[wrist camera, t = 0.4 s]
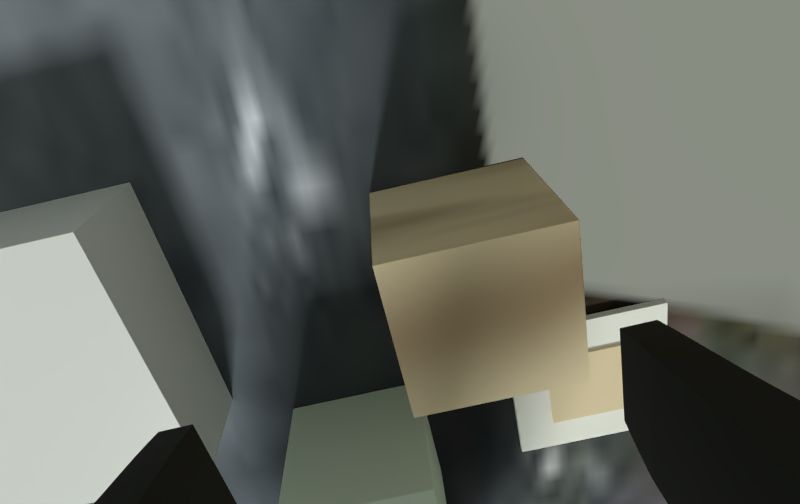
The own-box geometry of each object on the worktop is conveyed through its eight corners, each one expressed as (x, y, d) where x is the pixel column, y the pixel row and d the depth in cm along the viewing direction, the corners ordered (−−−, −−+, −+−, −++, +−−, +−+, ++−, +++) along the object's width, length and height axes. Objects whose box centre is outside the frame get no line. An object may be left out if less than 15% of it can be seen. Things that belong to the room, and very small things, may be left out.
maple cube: (537, 288, 19) (590, 381, 15) (401, 318, 20) (414, 418, 15) (522, 157, 17) (579, 220, 13) (369, 192, 17) (372, 265, 13)
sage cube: (440, 468, 23) (459, 584, 19) (328, 492, 23) (320, 612, 19) (418, 380, 21) (433, 489, 17) (293, 407, 21) (275, 521, 17)
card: (661, 417, 23) (666, 424, 22) (520, 446, 23) (522, 454, 22) (663, 298, 20) (669, 304, 19) (502, 333, 20) (505, 339, 20)
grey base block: (234, 393, 21) (208, 478, 17) (15, 440, 21) (-55, 533, 18) (133, 178, 17) (73, 232, 13) (-136, 241, 17) (-265, 309, 14)
